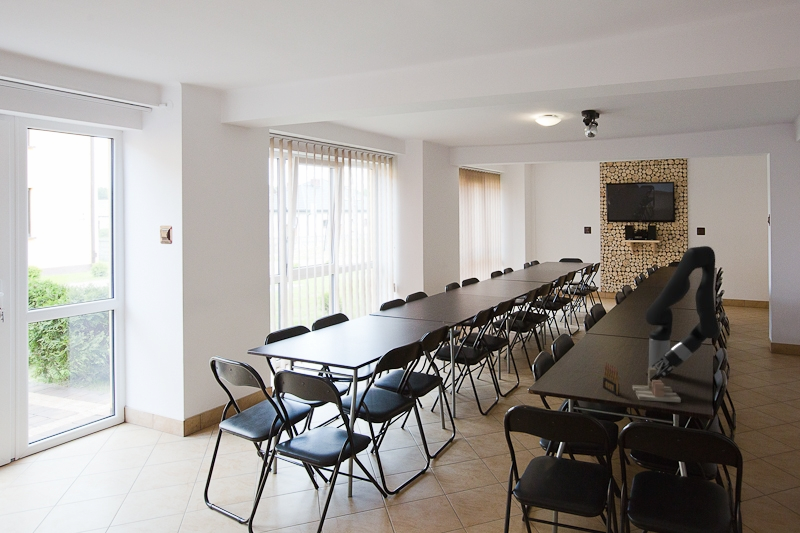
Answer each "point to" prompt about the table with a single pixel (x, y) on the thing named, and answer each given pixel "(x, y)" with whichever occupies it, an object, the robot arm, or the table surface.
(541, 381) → the table surface
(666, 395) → the stand
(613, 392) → the ammunition clip
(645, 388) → the maple T-beam
